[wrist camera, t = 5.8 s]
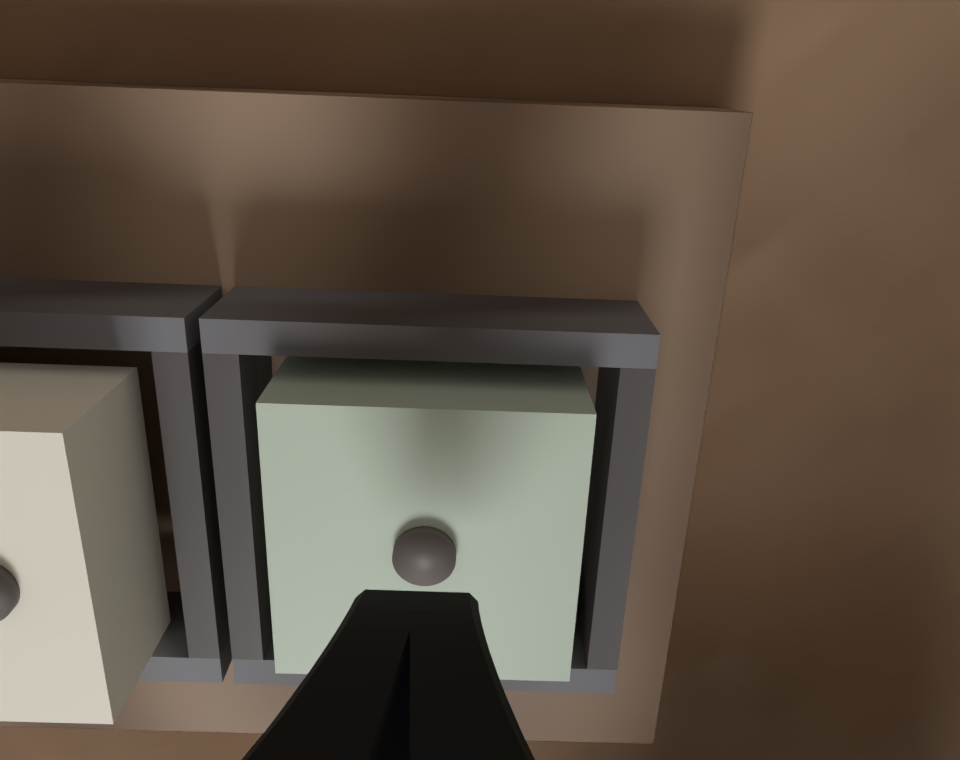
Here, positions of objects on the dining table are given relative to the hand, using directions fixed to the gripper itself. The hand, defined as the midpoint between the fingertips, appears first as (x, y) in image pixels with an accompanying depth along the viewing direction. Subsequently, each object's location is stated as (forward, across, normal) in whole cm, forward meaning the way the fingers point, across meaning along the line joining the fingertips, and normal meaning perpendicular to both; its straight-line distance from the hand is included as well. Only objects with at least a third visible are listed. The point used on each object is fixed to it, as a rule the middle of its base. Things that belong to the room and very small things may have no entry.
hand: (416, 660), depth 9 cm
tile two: (+3, +6, 0) cm, 7 cm away
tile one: (+4, 0, 0) cm, 4 cm away
